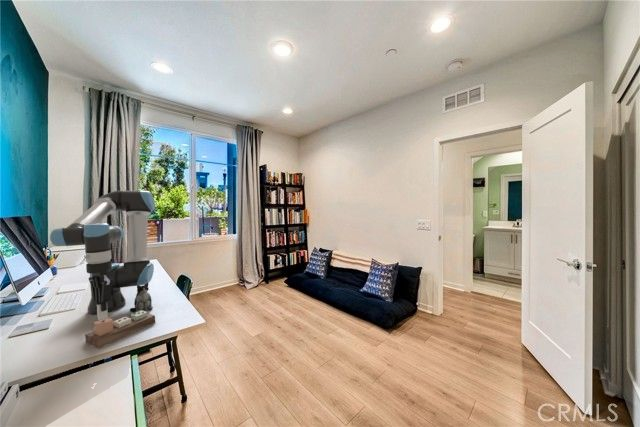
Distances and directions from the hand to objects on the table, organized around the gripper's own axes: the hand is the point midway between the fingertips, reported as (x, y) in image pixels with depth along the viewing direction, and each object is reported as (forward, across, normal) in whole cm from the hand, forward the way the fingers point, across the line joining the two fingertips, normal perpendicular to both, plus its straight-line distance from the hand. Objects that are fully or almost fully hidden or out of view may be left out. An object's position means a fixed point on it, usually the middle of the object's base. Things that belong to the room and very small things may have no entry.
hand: (102, 318), depth 96 cm
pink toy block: (+6, 0, 0) cm, 6 cm away
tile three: (+9, 0, +13) cm, 16 cm away
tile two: (+9, 0, +7) cm, 11 cm away
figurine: (+9, -14, +21) cm, 27 cm away
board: (+9, 0, +7) cm, 12 cm away
